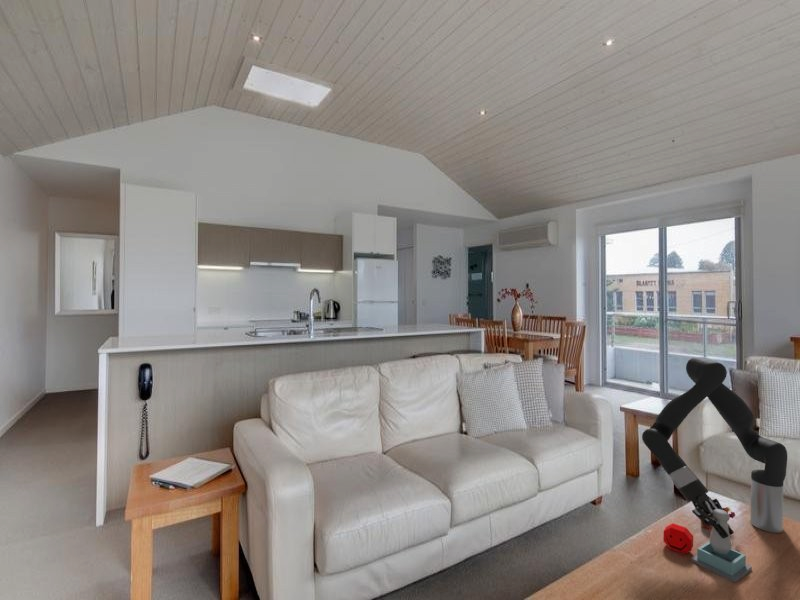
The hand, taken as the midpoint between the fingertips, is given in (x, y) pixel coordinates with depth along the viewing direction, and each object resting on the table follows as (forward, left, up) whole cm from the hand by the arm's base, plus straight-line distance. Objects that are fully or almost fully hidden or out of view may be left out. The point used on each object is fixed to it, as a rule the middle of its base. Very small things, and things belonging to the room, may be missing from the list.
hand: (728, 535), depth 133 cm
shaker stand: (0, -2, -11) cm, 11 cm away
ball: (+3, -13, -11) cm, 18 cm away
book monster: (-24, -12, -11) cm, 29 cm away
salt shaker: (0, -2, -6) cm, 6 cm away
